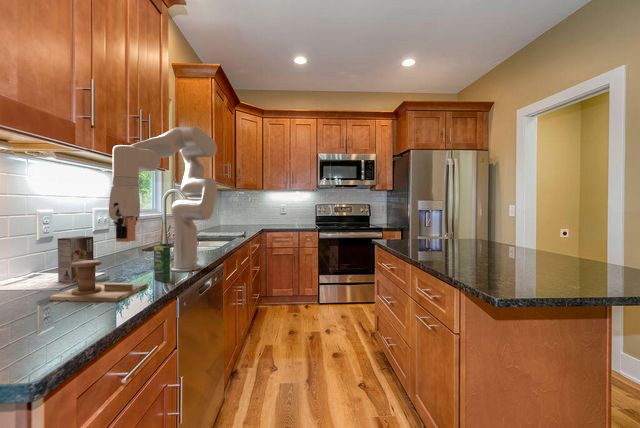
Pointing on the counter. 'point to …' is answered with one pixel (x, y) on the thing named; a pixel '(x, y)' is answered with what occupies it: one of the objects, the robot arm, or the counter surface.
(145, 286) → the board
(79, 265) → the bobbin
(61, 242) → the coffee box
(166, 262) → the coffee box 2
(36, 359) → the counter surface
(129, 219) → the tab block
